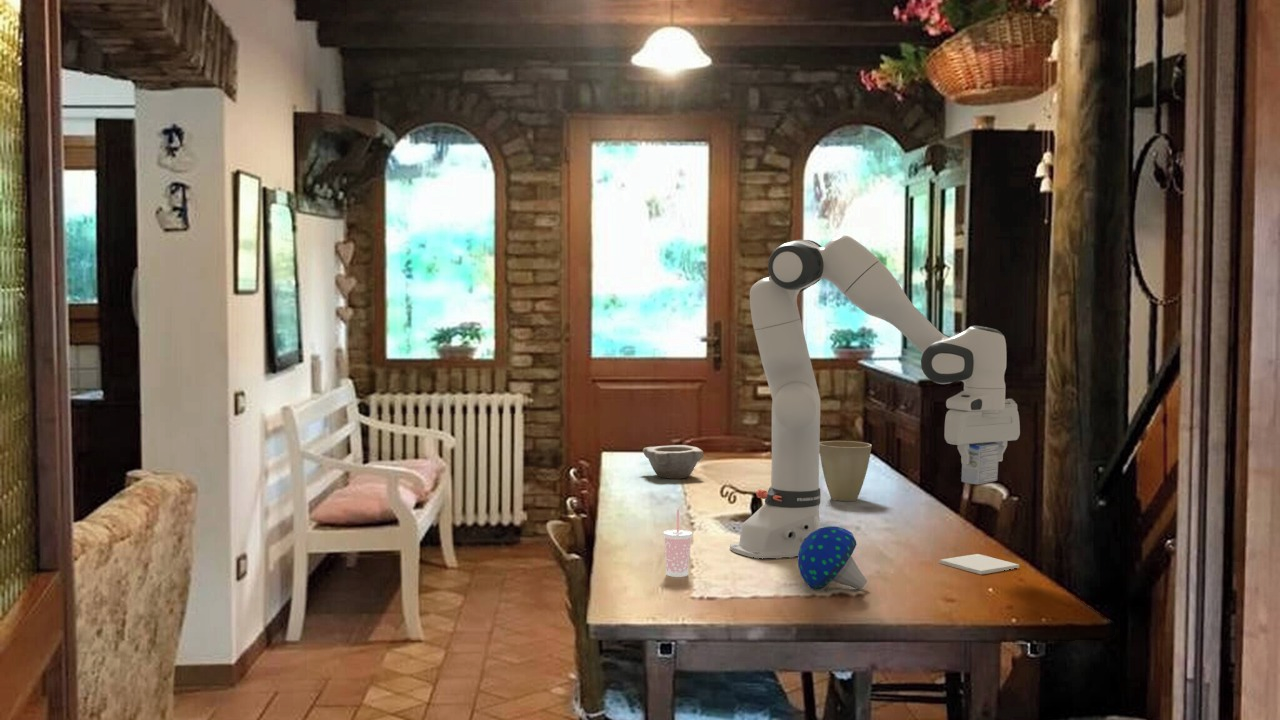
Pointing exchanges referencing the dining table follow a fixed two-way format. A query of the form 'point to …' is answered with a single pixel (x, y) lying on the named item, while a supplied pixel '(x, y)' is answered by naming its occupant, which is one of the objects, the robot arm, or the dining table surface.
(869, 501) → the dining table surface
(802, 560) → the mushroom
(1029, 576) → the dining table surface
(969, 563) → the ceramic tile
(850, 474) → the plant pot
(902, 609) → the dining table surface
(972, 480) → the medicine box
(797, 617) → the dining table surface
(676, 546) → the beverage cup
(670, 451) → the mortar
